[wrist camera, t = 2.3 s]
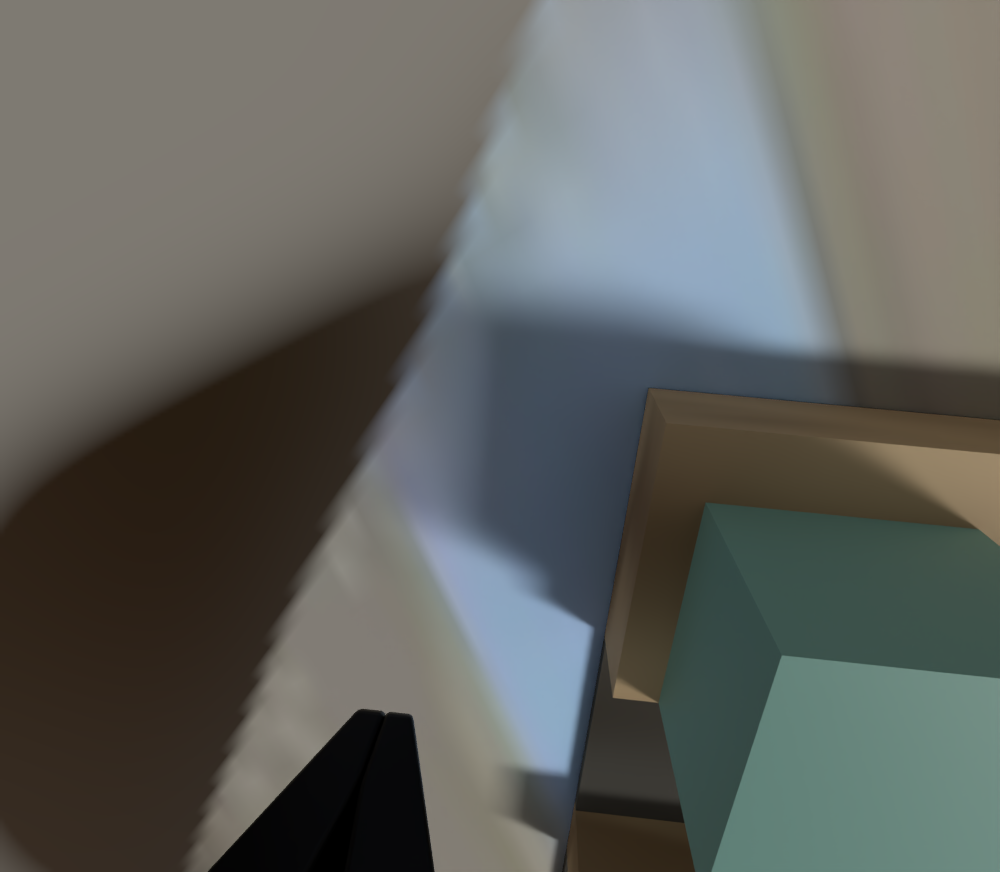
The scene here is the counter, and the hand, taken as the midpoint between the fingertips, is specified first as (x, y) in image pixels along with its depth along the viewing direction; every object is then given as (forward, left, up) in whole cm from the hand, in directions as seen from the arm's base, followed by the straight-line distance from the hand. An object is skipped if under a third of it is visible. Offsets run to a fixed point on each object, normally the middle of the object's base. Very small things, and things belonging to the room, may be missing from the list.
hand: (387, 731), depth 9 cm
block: (0, -8, -4) cm, 8 cm away
